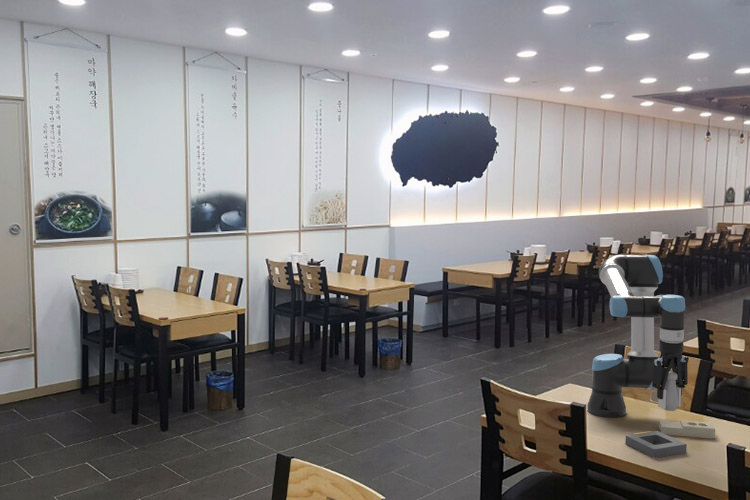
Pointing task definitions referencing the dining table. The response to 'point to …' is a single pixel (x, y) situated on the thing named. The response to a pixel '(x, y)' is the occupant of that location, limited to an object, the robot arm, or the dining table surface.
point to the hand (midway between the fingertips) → (669, 406)
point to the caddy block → (663, 449)
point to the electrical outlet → (688, 428)
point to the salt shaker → (671, 392)
